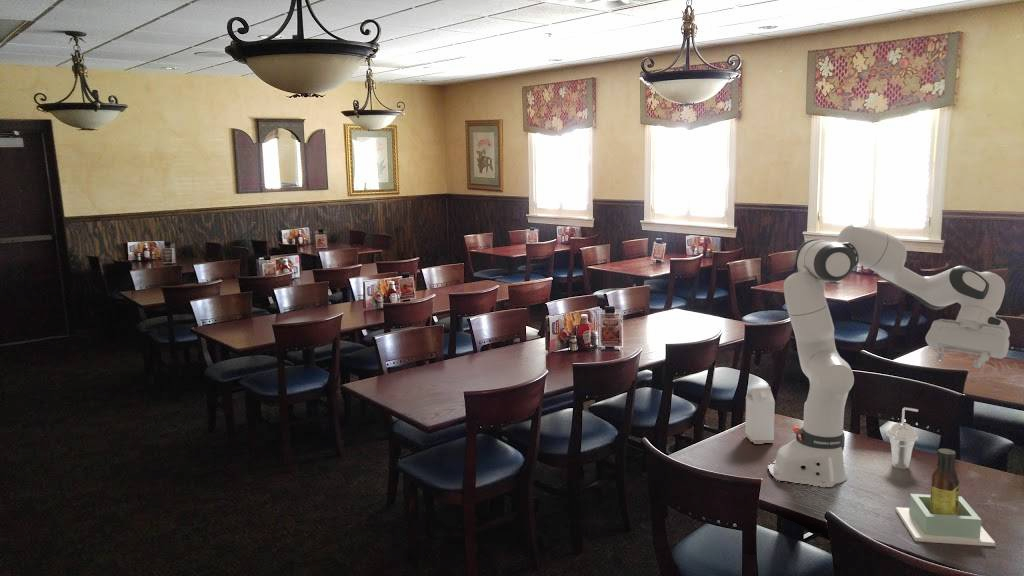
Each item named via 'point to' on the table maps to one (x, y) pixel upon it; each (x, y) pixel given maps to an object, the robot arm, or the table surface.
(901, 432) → the cup with straw
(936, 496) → the sauce bottle
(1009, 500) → the table surface
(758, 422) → the milk carton
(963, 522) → the caddy
